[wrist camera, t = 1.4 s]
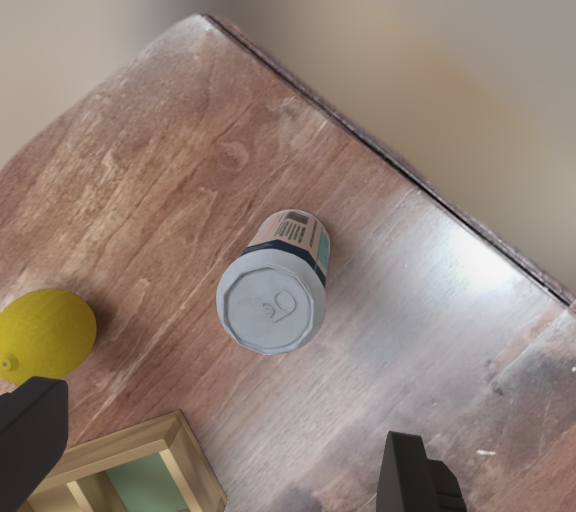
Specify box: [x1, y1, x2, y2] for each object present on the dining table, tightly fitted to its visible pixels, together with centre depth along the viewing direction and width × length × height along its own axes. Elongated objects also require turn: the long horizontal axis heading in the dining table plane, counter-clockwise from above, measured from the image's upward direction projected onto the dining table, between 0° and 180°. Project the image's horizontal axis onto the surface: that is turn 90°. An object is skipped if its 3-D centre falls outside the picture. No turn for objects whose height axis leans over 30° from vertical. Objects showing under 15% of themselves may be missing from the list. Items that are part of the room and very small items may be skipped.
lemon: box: [0, 289, 97, 386], centre depth 31 cm, size 6×6×8 cm
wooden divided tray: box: [17, 409, 227, 512], centre depth 37 cm, size 8×15×4 cm, turn 114°
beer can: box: [216, 209, 330, 356], centre depth 27 cm, size 5×5×12 cm
